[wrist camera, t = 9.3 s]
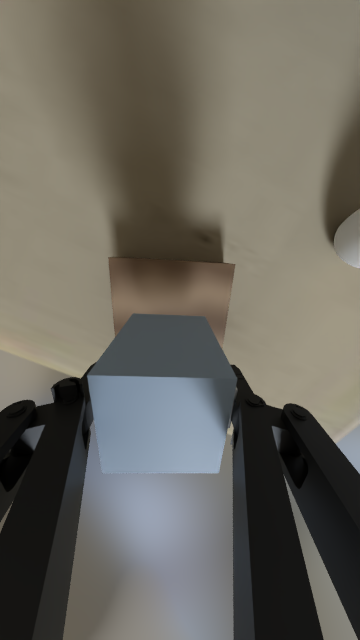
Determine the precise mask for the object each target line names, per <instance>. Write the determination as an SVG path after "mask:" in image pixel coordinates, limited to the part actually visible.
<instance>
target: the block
mask: <svg viewBox="0 0 360 640" xmlns="http://www.w3.org/2000/svg"><path fill="white" fill-rule="evenodd" d="M87 378H88V384H89V391H90V397H91V404H92V410H93V417H94V423H95V430H96V436H97V443H98V449H99V455H100V462H101V468H102V473H219V469H220V464H221V459H222V454H223V448H224V444H225V439H226V434H227V429H228V424H229V419H230V414H231V409H232V404H233V399H234V394H235V389H236V383H237V377H236V375H235V373H234V371H233V369H232V367H231V366H230V364H229V362H228V360H227V358H226V356H225V354H224V352H223V350H222V348H221V346H220V344H219V342H218V340H217V339H216V337H215V335H214V333H213V331H212V329H211V327H210V325H209V323H208V321H207V319H206V317H205V316H185V315H160V314H135V313H133V314H132V315H131V317H130V318H129V319H128V321H127V322H126V323H125V325H124V326H123V328H122V329H121V330H120V332H119V333H118V334H117V336H116V337H115V338H114V340H113V341H112V342H111V344H110V345H109V346H108V348H107V349H106V350H105V352H104V353H103V355H102V356H101V357H100V359H99V360H98V361H97V363H96V364H95V365H94V367H93V368H92V369H91V371H90V372H89V373H88V375H87Z"/></svg>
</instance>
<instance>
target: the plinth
mask: <svg viewBox="0 0 360 640" xmlns="http://www.w3.org/2000/svg"><path fill="white" fill-rule="evenodd" d="M108 258H109V270H110V282H111V294H112V306H113V318H114V329H115V337H116V336H117V334H118V333H119V332H120V330H121V329H122V328H123V326H124V325H125V323H126V322H127V321H128V319H129V318H130V317H131V315H132V314H133V313H135V314H160V315H185V316H205V317H206V319H207V321H208V323H209V325H210V327H211V329H212V331H213V333H214V335H215V337H216V339H217V340H218V342H219V344H220V346H221V348H222V347H223V341H224V334H225V328H226V321H227V315H228V308H229V302H230V295H231V289H232V282H233V276H234V269H235V264H229V263H219V262H200V261H182V260H164V259H145V258H127V257H108Z"/></svg>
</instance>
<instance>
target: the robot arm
mask: <svg viewBox="0 0 360 640" xmlns="http://www.w3.org/2000/svg"><path fill="white" fill-rule="evenodd" d="M96 363H97V362H96ZM96 363H94V364H93V365H91V366H90V367H89V369H88V370H87V372H86V373H85V374H84V375H83V376H82V378H81V379H80V378H77V377H70V378H66V379H63V380H61V381H59V382H57V383H56V384H54V385H53V387H52V388H51V391H52V395H53V399H54V403H51V404H46V405H41V406H37V407H36V405H35V402H34V401H32V400H22V401H19V402H16V403H13V404H12V405H10V406H8V407H6V408H5V409H3V410H2V411H1V412H0V522H1V520H2V518H3V517H4V515H5V513H6V512H7V510H8V508H9V507H10V505H11V504H12V506H11V508H10V511H9V513H8V516H7V518H6V520H5V523H4V525H3V528H2V530H1V533H0V640H63V633H64V625H65V618H66V611H67V603H68V596H69V589H70V581H71V574H72V566H73V559H74V552H75V544H76V538H77V530H78V523H79V516H80V508H81V501H82V494H83V486H84V479H85V472H86V464H87V457H88V450H89V443H90V435H91V431H90V426H91V424H92V422H93V420H94V417H93V410H92V404H91V397H90V391H89V384H88V378H87V375H88V373H89V372H90V371H91V369H92V368H93V367H94V365H95V364H96ZM230 366H231V367H232V369H233V371H234V373H235V375H236V377H237V383H236V389H235V394H234V399H233V404H232V409H231V414H230V419H229V424H228V428H230V424H231V421H232V424H233V427H234V430H233V434H232V440H231V444H232V445H233V593H234V594H233V596H234V597H233V602H234V603H233V604H234V605H233V606H234V640H323V635H322V631H321V627H320V623H319V619H318V615H317V611H316V606H315V602H314V598H313V594H312V590H311V586H310V582H309V578H308V574H307V569H306V565H305V561H304V557H303V553H302V549H301V545H300V541H299V536H298V532H297V528H296V524H295V520H294V516H293V512H292V508H291V503H290V499H289V495H288V491H287V487H286V483H285V479H284V476H285V478H286V480H287V482H288V485H289V487H290V489H291V491H292V494H293V496H294V498H295V500H296V503H297V505H298V507H299V509H300V511H301V513H302V516H303V518H304V520H305V523H306V525H307V527H308V529H309V531H310V534H311V536H312V538H313V540H314V543H315V545H316V547H317V549H318V551H319V554H320V556H321V558H322V560H323V563H324V565H325V567H326V569H327V571H328V574H329V576H330V578H331V580H332V583H333V585H334V587H335V589H336V591H337V593H338V596H339V598H340V600H341V603H342V605H343V607H344V609H345V611H346V614H347V616H348V618H349V620H350V622H351V625H352V627H353V629H354V631H355V633H356V636H357V638H358V640H360V474H359V473H358V471H357V470H356V469H355V468H354V467H353V465H352V464H351V463H350V462H349V460H348V459H347V458H346V457H345V455H344V454H343V453H342V452H341V450H340V449H339V448H338V447H337V445H336V444H335V443H334V442H333V440H332V439H331V438H330V437H329V435H328V434H327V433H326V432H325V430H324V429H323V428H322V427H321V425H320V424H319V423H318V422H317V420H316V419H315V418H314V417H313V415H312V414H311V413H310V412H309V411H308V410H306V409H305V408H303V407H301V406H299V405H296V404H291V403H290V404H286V405H284V407H283V409H279V408H275V407H271V406H269V405H266V403H265V401H264V400H263V399H262V398H261V397H259V396H257V395H255V394H254V393H253V391H252V390H251V388H250V386H249V385H248V383H247V381H246V380H245V378H244V376H243V375H242V373H241V371H240V369H239V368H237V367H236V366H235V365H230ZM94 424H95V423H94ZM283 474H284V475H283ZM13 500H14V501H13ZM12 502H13V503H12Z"/></svg>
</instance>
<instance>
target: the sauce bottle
mask: <svg viewBox="0 0 360 640" xmlns="http://www.w3.org/2000/svg"><path fill="white" fill-rule="evenodd" d="M334 249H335V252H336V254H337V255H338V256H339V257H340V258H341V259H342V260H343V261H344V262H346V263H347V264H349V265H351V266H353V267H356V268H360V209H358V210H357V211H356V212H354V213H353V214H352V215H350V216H349V217H348V218H347V219H346V220H345V221H344V222H343V223H342V224H341V225H340V226H339V228H338V229H337V231H336V234H335V237H334Z"/></svg>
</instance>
